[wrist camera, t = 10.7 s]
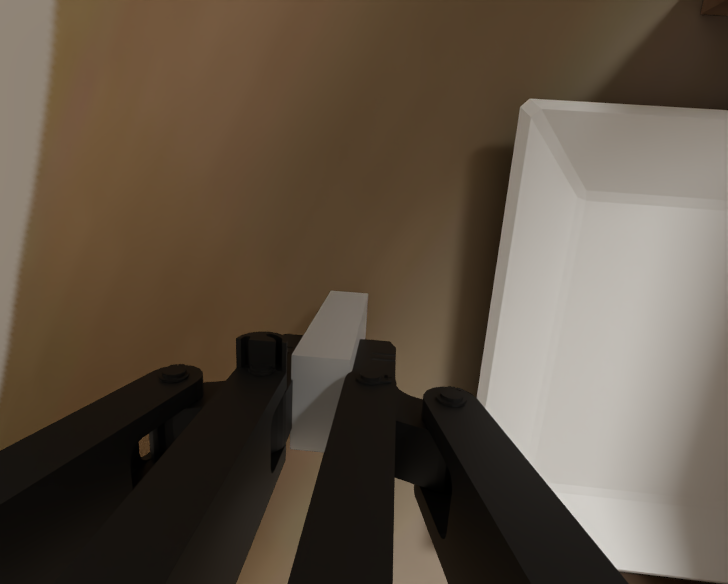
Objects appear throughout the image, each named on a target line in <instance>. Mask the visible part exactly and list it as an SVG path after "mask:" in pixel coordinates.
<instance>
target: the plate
mask: <svg viewBox="0 0 728 584" xmlns="http://www.w3.org/2000/svg"><path fill="white" fill-rule="evenodd" d="M477 399H478V400H479V401H480V403H481V404H482V405H483V406H484V408H485V409H486V410H487V411H488V412H489V414H490V415H491V416H492V417H493V419H494V420H495V421H496V422H497V423H498V425H499V426H500V427H501V428H502V430H503V431H504V432H505V433H506V434H507V436H508V437H509V438H510V439H511V441H512V442H513V443H514V444H515V445H516V447H517V448H518V449H519V450H520V452H521V453H522V454H523V455H524V456H525V458H526V459H527V460H528V461H529V463H530V464H531V465H532V466H533V467H534V469H535V470H536V471H537V472H538V473H539V475H540V476H541V477H542V478H543V480H544V481H545V482H546V483H547V484H548V486H549V487H550V488H551V489H552V491H553V492H554V493H555V494H556V495H557V497H558V498H559V499H560V500H561V502H562V503H563V504H564V505H565V506H566V508H567V509H568V510H569V511H570V513H571V514H572V515H573V516H574V517H575V519H576V520H577V521H578V522H579V524H580V525H581V526H582V527H583V528H584V530H585V531H586V532H587V533H588V535H589V536H590V537H591V538H592V539H593V541H594V542H595V543H596V544H597V545H598V547H599V548H600V549H601V550H602V552H603V553H604V554H605V555H606V556H607V558H608V559H609V560H610V561H611V563H612V564H613V565H614V566H615V567H616V569H617V570H618V571H622V572H631V573H639V574H647V575H656V576H664V577H672V578H681V579H689V580H698V581H706V582H714V583H723V584H728V110H716V109H699V108H682V107H665V106H648V105H631V104H614V103H597V102H580V101H563V100H546V99H529V100H527V101H526V102H525V103H524V104H523V105H522V106H521V107H520V112H519V118H518V125H517V132H516V138H515V145H514V152H513V158H512V165H511V172H510V178H509V185H508V192H507V198H506V205H505V212H504V218H503V225H502V232H501V238H500V245H499V252H498V258H497V265H496V272H495V278H494V285H493V292H492V298H491V305H490V312H489V319H488V325H487V332H486V339H485V345H484V352H483V359H482V365H481V372H480V379H479V385H478V392H477Z"/></svg>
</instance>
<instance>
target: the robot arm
mask: <svg viewBox="0 0 728 584" xmlns="http://www.w3.org/2000/svg"><path fill="white" fill-rule="evenodd" d="M367 306H368V293H356V292H343V291H330V293H329V295H328V296H327V298H326V299H325V301H324V303H323V304H322V306H321V308H320V309H319V311H318V313H317V314H316V316H315V317H314V319H313V321H312V322H311V324H310V326H309V327H308V329H307V331H306V332H305V334H304V335H292V334H284V335H281V334H278V333H273V332H253V333H247V334H244V335H241V336H239V337H238V338H236V358H237V368H236V369H235V371H234V372H233V373H232V374H231V375H230V376H229V378H228V379H227V380H226V381H219V382H205V383H203V372H202V371H201V370H200V369H199V368H197V367H194V366H188V365H184V364H179V365H177V364H175V365H170V366H168V367H163V368H160V369H158V370H155V371H153V372H151V373H149V374H147V375H145V376H143V377H141V378H139V379H137V380H135V381H133V382H131V383H130V384H128V385H126V386H124V387H122V388H120V389H118V390H116V391H114V392H112V393H110V394H108V395H107V396H105V397H103V398H101V399H99V400H97V401H95V402H93V403H91V404H89V405H87V406H85V407H83V408H82V409H80V410H78V411H76V412H74V413H72V414H70V415H68V416H66V417H64V418H62V419H60V420H58V421H57V422H55V423H53V424H51V425H49V426H47V427H45V428H43V429H41V430H39V431H37V432H35V433H34V434H32V435H30V436H28V437H26V438H24V439H22V440H20V441H18V442H16V443H14V444H12V445H10V446H9V447H7V448H5V449H3V450H1V451H0V584H236V582H237V580H238V577H239V575H240V572H241V570H242V567H243V565H244V562H245V560H246V557H247V555H248V552H249V550H250V547H251V545H252V542H253V540H254V537H255V535H256V532H257V530H258V527H259V525H260V522H261V520H262V517H263V515H264V512H265V510H266V507H267V505H268V502H269V500H270V497H271V495H272V492H273V490H274V487H275V485H276V482H277V480H278V477H279V475H280V472H281V470H282V467H283V465H284V462H285V457H286V441H287V439H288V436H289V434H290V449H294V450H304V451H314V452H324V455H323V458H322V462H321V466H320V469H319V473H318V476H317V480H316V484H315V487H314V491H313V494H312V498H311V502H310V505H309V509H308V512H307V516H306V519H305V523H304V527H303V530H302V534H301V537H300V541H299V545H298V548H297V552H296V555H295V559H294V563H293V566H292V570H291V573H290V577H289V581H288V584H393V531H394V479H395V478H398V479H401V480H404V481H407V482H410V483H412V484H414V494H415V497H416V500H417V503H418V505H419V508H420V511H421V513H422V516H423V518H424V521H425V524H426V526H427V529H428V532H429V534H430V537H431V540H432V542H433V545H434V547H435V550H436V553H437V555H438V558H439V561H440V563H441V566H442V568H443V571H444V574H445V576H446V579H447V582H448V584H629V583H628V582H627V581H626V580H625V578H624V577H623V576H622V575H621V574H620V572H619V571H618V570H617V569H616V567H615V566H614V565H613V564H612V563H611V561H610V560H609V559H608V558H607V556H606V555H605V554H604V553H603V552H602V550H601V549H600V548H599V547H598V545H597V544H596V543H595V542H594V541H593V539H592V538H591V537H590V536H589V535H588V533H587V532H586V531H585V530H584V528H583V527H582V526H581V525H580V524H579V522H578V521H577V520H576V519H575V517H574V516H573V515H572V514H571V513H570V511H569V510H568V509H567V508H566V506H565V505H564V504H563V503H562V502H561V500H560V499H559V498H558V497H557V495H556V494H555V493H554V492H553V491H552V489H551V488H550V487H549V486H548V484H547V483H546V482H545V481H544V480H543V478H542V477H541V476H540V475H539V473H538V472H537V471H536V470H535V469H534V467H533V466H532V465H531V464H530V463H529V461H528V460H527V459H526V458H525V456H524V455H523V454H522V453H521V452H520V450H519V449H518V448H517V447H516V445H515V444H514V443H513V442H512V441H511V439H510V438H509V437H508V436H507V434H506V433H505V432H504V431H503V430H502V428H501V427H500V426H499V425H498V423H497V422H496V421H495V420H494V419H493V417H492V416H491V415H490V414H489V412H488V411H487V410H486V409H485V408H484V406H483V405H482V404H481V403H480V401H479V400H478V399H477V398H476V397H474V396H473V395H472V394H470V393H468V392H466V391H464V390H462V389H460V388H455V387H451V386H449V387H435V388H432V389H429V390H427V391H426V392H425V394H424V395H423V399H419V398H416V397H413V396H410V395H408V394H406V393H404V392H402V391H401V390H399V389H398V387H397V386H396V380H395V360H396V348H395V347H394V346H393V344H392V343H391V342H390V341H378V340H366V339H365V337H366V322H367ZM147 434H149V440H150V452H149V453H148V454H147V455H145V456H143V457H140V454H139V443H138V442H139V441H140V440H141V439H142V438H143V437H144V436H146V435H147Z"/></svg>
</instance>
